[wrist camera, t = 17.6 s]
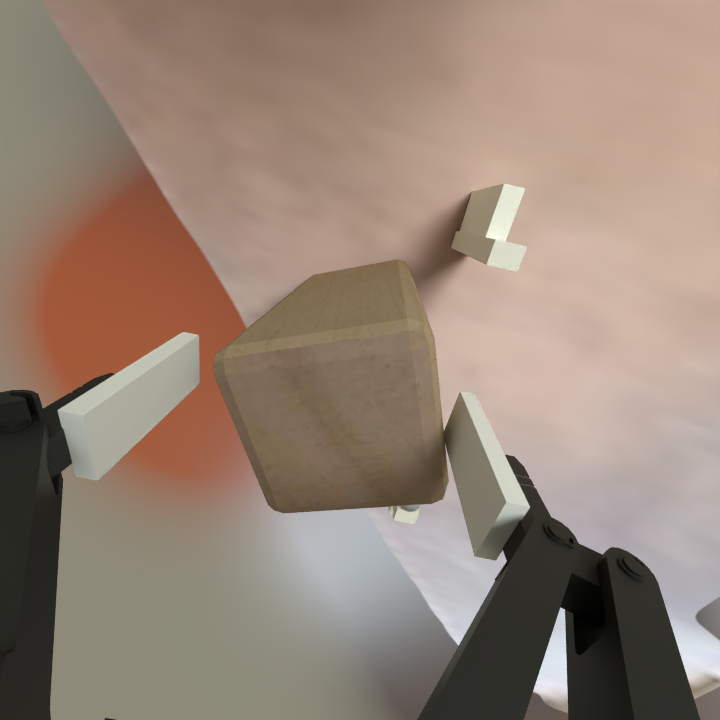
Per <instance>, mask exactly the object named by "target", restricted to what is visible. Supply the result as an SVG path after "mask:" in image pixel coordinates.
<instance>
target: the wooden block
mask: <svg viewBox="0 0 720 720" xmlns="http://www.w3.org/2000/svg"><path fill="white" fill-rule="evenodd" d="M214 376H215V378H216V381H217V383H218V385H219V388H220V390H221V393H222V395H223V398H224V400H225V403H226V405H227V407H228V409H229V412H230V414H231V417H232V419H233V422H234V424H235V426H236V429H237V431H238V434H239V436H240V439H241V441H242V443H243V446H244V448H245V450H246V453H247V455H248V457H249V460H250V463H251V465H252V467H253V470H254V472H255V475H256V477H257V479H258V481H259V484H260V486H261V489H262V491H263V494H264V496H265V499H266V501H267V503H268V505H269V506H270V507H271V508H272V509H274V510H275V511H279V512H282V513H295V512H311V511H324V510H325V511H326V510H342V509H356V508H373V507H388V506H404V505H419V504H432V503H435V502H437V501H439V500H442V499H443V497H444V494H445V491H446V488H447V485H448V482H449V480H448V470H447V460H446V450H445V440H444V430H443V420H442V410H441V400H440V389H439V379H438V369H437V359H436V349H435V339H434V335H433V333H432V330H431V327H430V324H429V321H428V319H427V316H426V313H425V310H424V308H423V305H422V302H421V299H420V296H419V294H418V291H417V288H416V285H415V283H414V280H413V277H412V274H411V271H410V269H409V267H408V265H407V264H406V262H404V261H400V260H394V261H388V262H383V263H377V264H372V265H366V266H361V267H355V268H350V269H344V270H339V271H334V272H328V273H323V274H317V275H313V276H312V277H310V278H309V279H308V280H306V281H305V282H304V283H303V284H301V285H300V286H299V287H298V288H297V289H295V290H294V291H293V292H292V293H290V294H289V295H288V296H287V297H286V298H284V299H283V300H282V301H281V302H279V303H278V304H277V305H276V306H275V307H273V308H272V309H271V310H270V311H268V312H267V313H266V314H265V315H264V316H262V317H261V318H260V319H259V320H257V321H256V322H255V323H254V324H252V325H251V326H250V327H249V328H248V329H246V330H245V331H244V332H243V333H241V334H240V335H239V336H238V337H237V338H235V339H234V340H233V341H232V342H230V343H229V344H228V345H227V346H226V347H224V348H223V349H222V350H221V351H219V352H218V353H217V354H216V356H215V359H214Z"/></svg>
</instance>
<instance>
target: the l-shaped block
mask: <svg viewBox="0 0 720 720" xmlns="http://www.w3.org/2000/svg"><path fill="white" fill-rule="evenodd" d="M524 191H525V188H521V187H517V186H512V185H508V184H501V185H497V186H493V187H489V188H485V189H481V190H477V191H473V192H472V193H471V197H470V200H469V203H468V206H467V209H466V212H465V216H464V219H463V222H462V225H461V228H460V231H456V233H455V237H454V240H453V243H452V246H451V248H452V249H454V250H457V251H459V252H461V253H463V254H465V255H467V256H469V257H471V258H473V259H476V260H478V261H480V262H482V263H484V264H486V265H490V266H494V267H499V268H503V269H508V270H512V271H517V272H518V269H519V267H520V264H521V262H522V259H523V257H524V254H525V252H526V249H527V247H526V246H522V245H518V244H513V243H509V242H505V241H506V238H507V236H508V233H509V230H510V228H511V225H512V222H513V220H514V217H515V214H516V212H517V209H518V206H519V204H520V201H521V199H522V196H523V193H524ZM418 508H419V505H404V506H389V514H393V520H395V521H400V522H405V523H410V524H415V522H416V519H417V517H418V514H419V510H418Z"/></svg>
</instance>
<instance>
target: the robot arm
mask: <svg viewBox="0 0 720 720" xmlns="http://www.w3.org/2000/svg"><path fill="white" fill-rule="evenodd" d="M199 369H200V367H199V335H195V334H191V333H186V332H183V333H181V334H179V335H178V336H176V337H174V338H173V339H171V340H169V341H168V342H166V343H165V344H163V345H162V346H160V347H158V348H156V349H155V350H153V351H152V352H150V353H148V354H147V355H145V356H144V357H142V358H141V359H139V360H137V361H136V362H134V363H132V364H131V365H129V366H128V367H126V368H124V369H123V370H122V371H120V372H118V373H116V374H113V373H109V374H106V375H103V376H100V377H97V378H94V379H92V380H91V381H89V382H87V383H86V384H84V385H83V386H82V387H79V388H77V389H76V390H74V391H73V392H72V393H69V394H67V395H65V396H64V397H62V398H60V399H59V400H57V401H55V402H54V403H52V404H50V405H49V406H47V407H46V408H44V409H43V408H42V405H41V401H40V398H39V395H38V394H37V393H35V392H33V391H28V390H11V391H6V392H1V393H0V720H51V717H50V692H51V677H52V658H53V643H54V626H55V608H56V591H57V574H58V556H59V540H60V523H61V505H62V488H63V478H62V474H61V472H62V471H63V470H64V469H65V468H67V467H68V466H69V465H70V464H72V468H73V472H74V475H75V477H79V478H85V479H89V480H94V481H98V480H99V479H100V478H101V477H102V476H103V475H104V474H105V473H107V472H108V471H109V470H110V469H111V468H112V467H113V466H114V465H115V464H116V463H117V462H118V461H119V460H120V459H121V458H122V457H123V456H124V455H125V454H126V453H127V452H129V451H130V449H132V448H133V447H134V446H135V445H136V444H137V443H138V442H139V441H140V440H141V439H142V438H143V437H144V436H145V435H146V434H147V433H148V432H149V431H150V430H151V429H153V428H154V427H155V426H156V425H157V424H158V423H159V422H160V421H161V420H162V419H163V418H164V417H165V416H166V415H167V414H168V413H169V412H170V411H171V410H172V409H173V408H174V407H175V406H177V405H178V404H179V403H180V402H181V401H182V400H183V399H184V398H185V397H186V396H187V395H188V394H189V393H190V392H191V391H192V390H193V389H194V388H195V387H196V386H197V385H198V384H199V383H200V370H199ZM444 440H445V444H446V448H447V452H448V456H449V459H450V463H451V467H452V471H453V475H454V479H455V483H456V486H457V490H458V494H459V498H460V502H461V506H462V509H463V513H464V517H465V521H466V525H467V529H468V533H469V536H470V540H471V544H472V548H473V552H474V556H476V557H481V558H486V559H491V560H497V558H498V556H499V555H500V553H501V552H502V550H503V551H504V554H505V557H506V560H507V562H506V564H505V565H504V567H503V568H502V570H501V571H500V573H499V574H498V576H497V577H496V579H495V582H494V584H493V586H492V588H491V590H490V591H489V593H488V595H487V597H486V598H485V600H484V602H483V604H482V606H481V607H480V609H479V611H478V613H477V614H476V616H475V618H474V620H473V622H472V623H471V625H470V627H469V629H468V630H467V632H466V634H465V636H464V637H463V639H462V641H461V643H460V645H459V646H458V648H457V650H456V652H455V654H454V655H453V657H452V659H451V661H450V662H449V664H448V666H447V668H446V669H445V671H444V673H443V675H442V677H441V678H440V680H439V682H438V684H437V686H436V687H435V689H434V691H433V693H432V694H431V696H430V698H429V700H428V701H427V703H426V705H425V707H424V709H423V710H422V712H421V714H420V716H419V717H418V719H417V720H524V717H525V714H526V711H527V707H528V705H529V702H530V699H531V695H532V692H533V689H534V686H535V683H536V680H537V677H538V674H539V671H540V668H541V665H542V662H543V659H544V656H545V652H546V649H547V646H548V643H549V640H550V637H551V634H552V631H553V628H554V625H555V622H556V619H557V616H558V613H559V609H560V607H561V608H563V609H565V620H566V652H567V684H568V716H569V720H700V717H699V714H698V711H697V708H696V704H695V701H694V698H693V695H692V691H691V688H690V685H689V682H688V678H687V675H686V672H685V669H684V665H683V662H682V659H681V656H680V653H679V649H678V646H677V643H676V640H675V636H674V633H673V630H672V627H671V623H670V620H669V617H668V614H667V610H666V607H665V604H664V601H663V597H662V594H661V591H660V588H659V585H658V582H657V580H656V578H655V576H654V574H653V573H652V572H651V571H650V570H649V568H648V567H647V566H646V565H645V564H644V563H643V562H642V561H640V560H639V559H638V558H637V557H635V556H634V555H632V554H631V553H629V552H627V551H625V550H623V549H620V548H614V547H611V548H609V549H608V550H607V551H606V552H605V553H604V554H603V555H602V554H600V553H598V552H596V551H593V550H591V549H589V548H587V547H585V546H583V545H581V544H579V543H578V541H577V539H576V537H575V536H574V535H573V533H572V532H571V531H570V530H569V529H568V528H567V527H566V526H565V525H563V524H562V523H561V522H559V521H557V520H556V519H554V518H551V516H550V514H549V512H548V510H547V509H546V507H545V505H544V503H543V501H542V499H541V497H540V496H539V494H538V492H537V490H536V488H534V484H533V483H532V481H531V479H529V475H528V473H527V472H526V470H525V468H524V466H523V465H522V464H521V463H520V462H519V461H518V460H517V459H516V458H515V457H514V456H509V455H505V454H504V452H503V450H502V448H501V446H500V444H499V442H498V440H497V438H496V436H495V434H494V432H493V430H492V428H491V426H490V424H489V422H488V420H487V418H486V415H485V413H484V411H483V409H482V407H481V405H480V403H479V401H478V399H477V397H476V395H475V394H471V393H467V392H462V391H460V393H459V396H458V398H457V401H456V403H455V406H454V408H453V410H452V413H451V415H450V418H449V420H448V423H447V425H446V428H445V430H444ZM105 720H114V719H108V718H105Z"/></svg>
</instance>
